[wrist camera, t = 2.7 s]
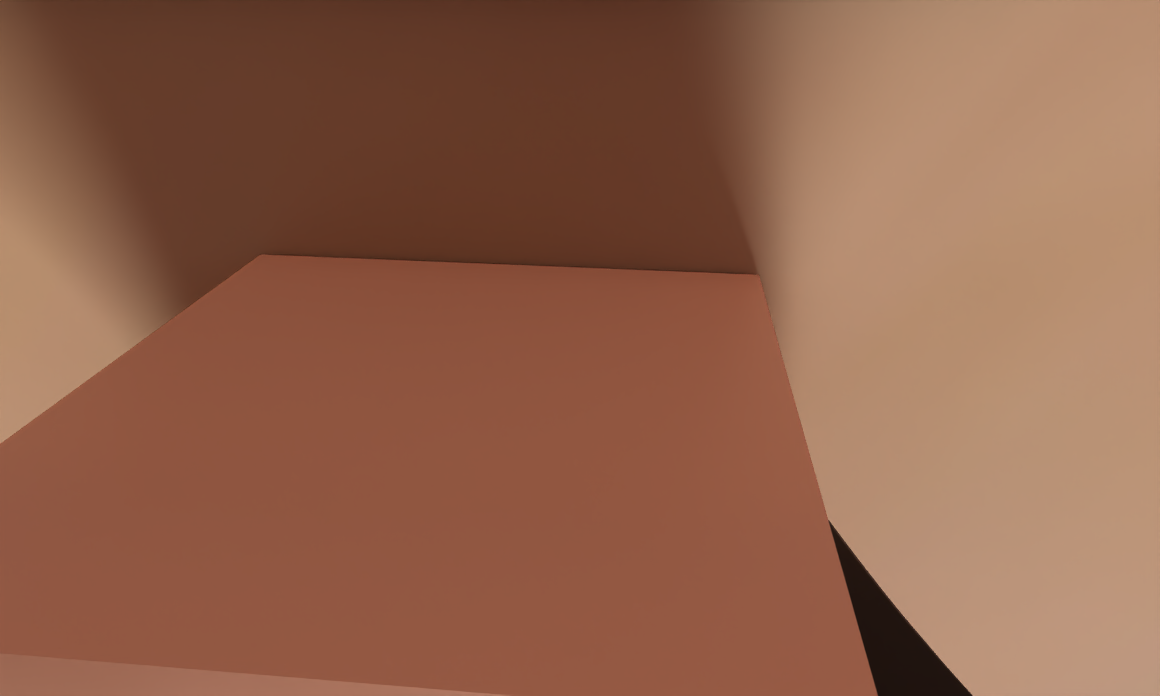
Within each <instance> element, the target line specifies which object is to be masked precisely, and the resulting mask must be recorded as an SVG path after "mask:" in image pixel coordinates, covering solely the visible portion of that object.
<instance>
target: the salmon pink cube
mask: <svg viewBox="0 0 1160 696" xmlns="http://www.w3.org/2000/svg"><path fill="white" fill-rule="evenodd" d="M0 696H878V695H877V691H876V687H875V684H874V680H873V677H872V673H871V670H870V666H869V663H868V659H867V656H866V652H865V649H864V645H863V641H862V638H861V634H860V631H859V627H858V624H857V620H856V617H855V613H854V610H853V606H852V603H851V599H850V595H849V592H848V588H847V585H846V581H845V578H844V574H843V571H842V567H841V564H840V560H839V557H838V553H837V549H836V546H835V542H834V539H833V535H832V532H831V528H830V525H829V521H828V518H827V514H826V511H825V507H824V503H823V500H822V496H821V493H820V489H819V486H818V482H817V479H816V475H815V472H814V468H813V465H812V461H811V458H810V454H809V450H808V447H807V443H806V440H805V436H804V433H803V429H802V426H801V422H800V419H799V415H798V412H797V408H796V404H795V401H794V397H793V394H792V390H791V387H790V383H789V380H788V376H787V373H786V369H785V366H784V362H783V358H782V355H781V351H780V348H779V344H778V341H777V337H776V334H775V330H774V327H773V323H772V320H771V316H770V312H769V309H768V305H767V302H766V298H765V295H764V291H763V288H762V284H761V281H760V277H759V275H752V274H728V273H703V272H678V271H654V270H629V269H605V268H580V267H556V266H531V265H507V264H482V263H458V262H433V261H409V260H384V259H360V258H335V257H310V256H286V255H261V254H260V255H259V256H258V257H256V258H255V259H254V260H252V261H251V262H249V263H248V264H247V265H245V266H244V267H243V268H241V269H240V270H238V271H237V272H236V273H234V274H233V275H232V276H230V277H229V278H227V279H226V280H225V281H223V282H222V283H221V284H219V285H218V286H216V287H215V288H214V289H212V290H211V291H210V292H208V293H207V294H205V295H204V296H203V297H201V298H200V299H199V300H197V301H196V302H194V303H193V304H192V305H190V306H189V307H188V308H186V309H185V310H183V311H182V312H181V313H179V314H178V315H177V316H175V317H174V318H173V319H171V320H170V321H168V322H167V323H166V324H164V325H163V326H162V327H160V328H159V329H157V330H156V331H155V332H153V333H152V334H151V335H149V336H148V337H146V338H145V339H144V340H142V341H141V342H140V343H138V344H137V345H135V346H134V347H133V348H131V349H130V350H129V351H127V352H126V353H124V354H123V355H122V356H120V357H119V358H118V359H116V360H115V361H113V362H112V363H111V364H109V365H108V366H107V367H105V368H104V369H102V370H101V371H100V372H98V373H97V374H96V375H94V376H93V377H91V378H90V379H89V380H87V381H86V382H85V383H83V384H82V385H80V386H79V387H78V388H76V389H75V390H74V391H72V392H71V393H70V394H68V395H67V396H65V397H64V398H63V399H61V400H60V401H59V402H57V403H56V404H54V405H53V406H52V407H50V408H49V409H48V410H46V411H45V412H43V413H42V414H41V415H39V416H38V417H37V418H35V419H34V420H32V421H31V422H30V423H28V424H27V425H26V426H24V427H23V428H21V429H20V430H19V431H17V432H16V433H15V434H13V435H12V436H10V437H9V438H8V439H6V440H5V441H4V442H2V443H1V444H0Z"/></svg>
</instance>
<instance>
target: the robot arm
mask: <svg viewBox="0 0 1160 696" xmlns="http://www.w3.org/2000/svg"><path fill="white" fill-rule="evenodd" d="M828 521H829V520H828ZM829 525H830V528H831V532H832V535H833V539H834V542H835V546H836V549H837V553H838V557H839V560H840V564H841V567H842V571H843V574H844V578H845V581H846V585H847V588H848V592H849V595H850V599H851V603H852V606H853V610H854V613H855V617H856V620H857V624H858V627H859V631H860V634H861V638H862V641H863V645H864V649H865V652H866V656H867V659H868V663H869V666H870V670H871V673H872V677H873V680H874V684H875V687H876V691H877V695H878V696H972V694H971V693H970V692H969V691H968V690H967V689H966V688H965V687H964V686H963V684H962V683H961V682H960V681H959V680H958V679H957V678H956V677H955V676H954V674H953V673H952V672H951V671H950V670H949V669H948V668H947V667H946V665H945V664H944V663H943V662H942V661H941V660H940V658H939V657H938V656H937V655H936V654H935V653H934V651H933V650H932V649H931V648H930V647H929V646H928V644H927V643H926V642H925V641H924V640H923V638H922V637H921V636H920V635H919V634H918V633H917V631H916V630H915V629H914V628H913V627H912V626H911V624H910V623H909V622H908V621H907V620H906V619H905V617H904V616H903V615H902V614H901V613H900V611H899V610H898V609H897V608H896V606H895V605H894V604H893V603H892V602H891V600H890V599H889V598H888V597H887V595H886V594H885V593H884V592H883V590H882V589H881V588H880V587H879V585H878V584H877V583H876V581H875V580H874V579H873V578H872V576H871V575H870V574H869V573H868V571H867V570H866V569H865V567H864V566H863V565H862V564H861V562H860V561H859V560H858V558H857V557H856V556H855V554H854V553H853V552H852V551H851V549H850V548H849V547H848V545H847V544H846V543H845V541H844V540H843V539H842V537H841V536H840V535H839V533H838V532H837V531H836V529H835V528H834V527H833V525H832V524H831V523H830V521H829Z"/></svg>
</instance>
